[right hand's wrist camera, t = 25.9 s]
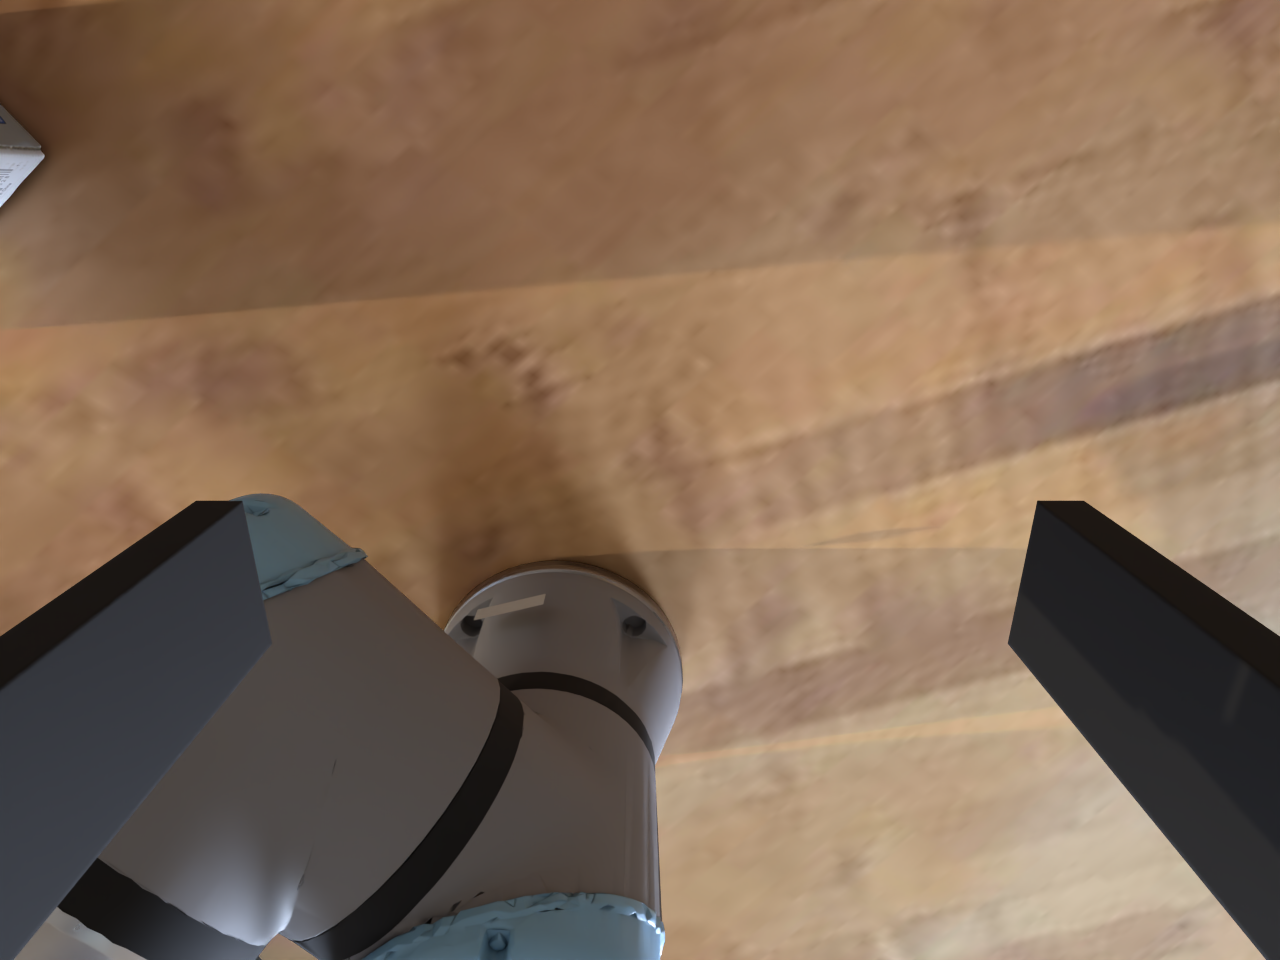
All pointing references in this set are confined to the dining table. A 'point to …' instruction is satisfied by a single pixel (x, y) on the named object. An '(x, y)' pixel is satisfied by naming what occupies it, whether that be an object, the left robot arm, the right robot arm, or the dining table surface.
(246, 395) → the dining table surface
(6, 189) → the hard drive box
